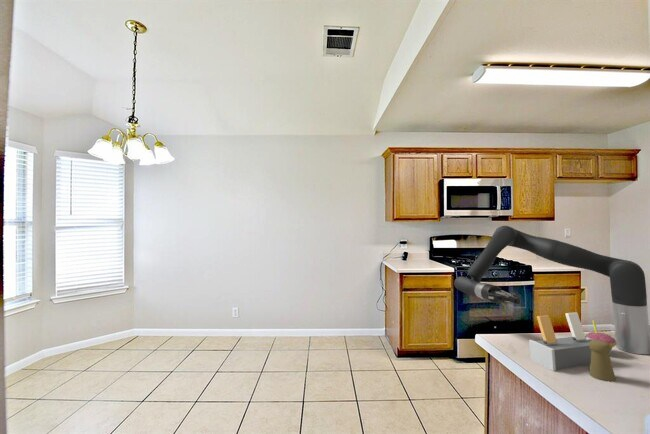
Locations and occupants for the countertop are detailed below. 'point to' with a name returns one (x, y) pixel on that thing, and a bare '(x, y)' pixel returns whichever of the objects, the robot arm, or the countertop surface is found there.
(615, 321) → the robot arm
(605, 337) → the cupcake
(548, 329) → the outlet rocker
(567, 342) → the switch box
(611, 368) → the cork
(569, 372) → the countertop surface
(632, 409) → the countertop surface
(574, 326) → the rocker switch
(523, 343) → the countertop surface
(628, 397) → the countertop surface
